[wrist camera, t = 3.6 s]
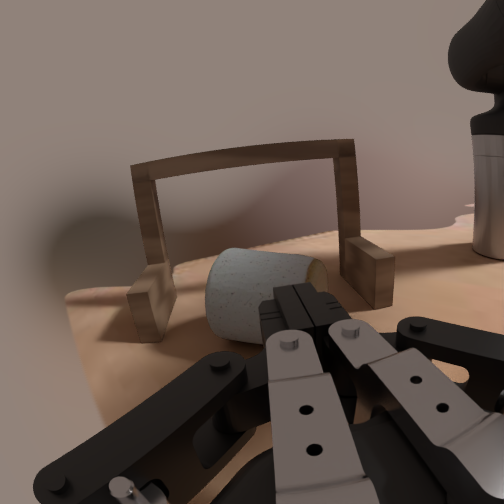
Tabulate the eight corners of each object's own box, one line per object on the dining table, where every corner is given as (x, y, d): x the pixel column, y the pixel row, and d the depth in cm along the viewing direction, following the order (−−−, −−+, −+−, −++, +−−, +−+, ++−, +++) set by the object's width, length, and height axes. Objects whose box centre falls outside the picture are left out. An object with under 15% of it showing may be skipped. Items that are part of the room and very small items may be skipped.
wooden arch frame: (161, 298, 35) (135, 165, 31) (354, 271, 36) (347, 140, 32) (141, 343, 26) (100, 166, 21) (392, 305, 27) (389, 132, 22)
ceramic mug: (312, 370, 20) (309, 268, 18) (211, 355, 23) (194, 265, 21) (336, 305, 29) (334, 229, 27) (260, 300, 33) (252, 230, 30)
